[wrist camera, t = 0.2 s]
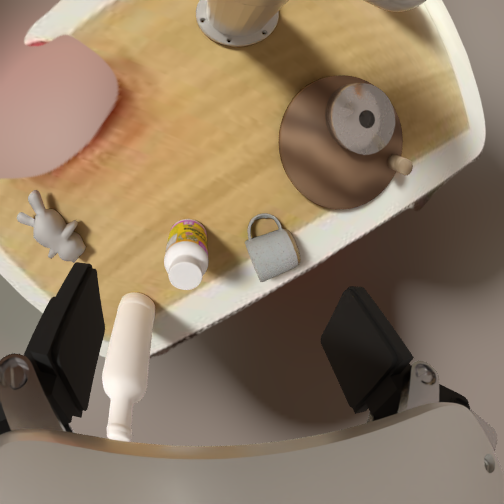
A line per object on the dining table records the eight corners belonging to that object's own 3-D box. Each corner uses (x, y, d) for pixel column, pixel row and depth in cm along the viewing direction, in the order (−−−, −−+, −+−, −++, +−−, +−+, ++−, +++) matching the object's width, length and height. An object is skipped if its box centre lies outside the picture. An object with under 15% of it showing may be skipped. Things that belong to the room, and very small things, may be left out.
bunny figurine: (64, 276, 42) (8, 228, 33) (71, 259, 46) (20, 214, 37) (90, 247, 41) (29, 191, 32) (96, 231, 45) (41, 180, 36)
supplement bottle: (214, 232, 48) (219, 274, 37) (191, 257, 50) (190, 303, 39) (185, 209, 45) (181, 247, 34) (162, 236, 47) (152, 279, 36)
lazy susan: (298, 55, 34) (312, 50, 29) (410, 107, 40) (429, 110, 36) (262, 192, 45) (270, 203, 40) (374, 216, 51) (389, 228, 47)
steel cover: (335, 72, 35) (344, 71, 32) (391, 99, 38) (402, 101, 35) (316, 139, 40) (325, 142, 37) (374, 159, 43) (384, 163, 41)
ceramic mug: (293, 251, 53) (306, 273, 47) (254, 267, 54) (262, 291, 47) (278, 203, 48) (291, 221, 41) (235, 220, 48) (241, 240, 41)
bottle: (145, 287, 51) (125, 428, 26) (162, 314, 56) (155, 447, 30) (113, 296, 51) (81, 428, 26) (130, 322, 55) (113, 448, 30)
